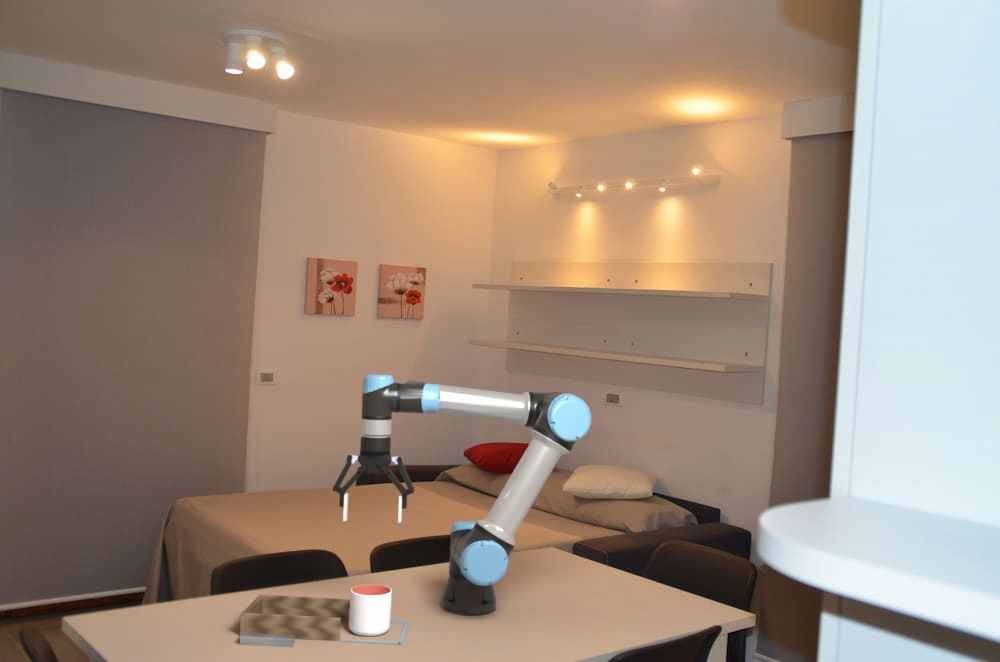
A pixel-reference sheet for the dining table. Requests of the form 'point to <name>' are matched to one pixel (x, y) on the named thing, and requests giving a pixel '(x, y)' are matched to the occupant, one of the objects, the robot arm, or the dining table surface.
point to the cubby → (296, 616)
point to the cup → (370, 610)
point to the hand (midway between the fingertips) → (372, 520)
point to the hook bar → (266, 639)
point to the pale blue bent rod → (385, 641)
